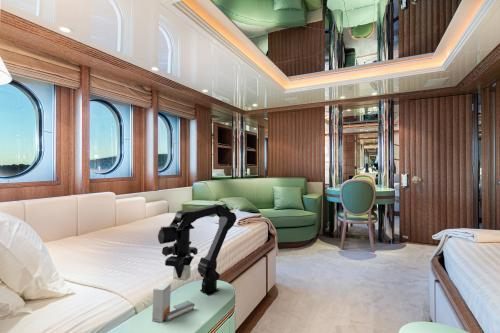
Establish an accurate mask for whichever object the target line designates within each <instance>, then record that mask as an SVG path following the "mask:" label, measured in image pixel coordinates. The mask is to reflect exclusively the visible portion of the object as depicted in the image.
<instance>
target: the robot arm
mask: <svg viewBox="0 0 500 333" xmlns="http://www.w3.org/2000/svg"><path fill="white" fill-rule="evenodd" d="M213 215H216V216H217V217H218V228H217V231H216V233H215V236H214V237H213V240H212V242H211V245H210V247H209V249H208V252H207V254H206V255H205V256H204V257H200V259H199V262H198V264H197V272H198V274H199V275H200V277H201V278H202V281H201V289H200V290H199V292H201V293H203V294H204V295H207V296H210V295H213V294H215V293H217V292H219V291H220V290H219V289H218V286H217V285H218V283H217V282H218V280H220V276H221V274H220V273H219V272H218V271H216V270H217V264H218V263H217V260H218V256H219V253H220V252H221V249H222V246H223V244H224V242H225V239H226V236H227V235H228V231H229V230H230V229H232V228H233V227H234V225H235V223H236V222H237V215H236V213H234V212H232V211H230V210H229V209H227V208H226V207H224V206H223V205H222V204H219V203H218V204H217V203H214V204H212V205H209V206H204V207H200V208H197V209H192V210H191V209H189V210H188V209H184V210H178V211H176V213H175V215H174V218H173V219H172V220H171V222H170V224H169V225H168V226H160V230H159V231H158V234H157V240H158V242H159V244H161V245H163V244H169V243H173V244H172V245H170V246H168V245H167V246H164V247H162V250H161V251H162V252H161V254H162V256H164V257H167V258H166V259H165V260H164V265H165V266H166V267H173V268H174V267H175V270H176V273H177V276H178V278H181V275H182V272H183V269H184V266H185V265H189V266H191V264H192V261H193V259H194V257H195V256H196V255H198V254H199V253H198V252H199V251H198V248H197V247H194V246H191V244H192V241H191V240H190V238H191V236H190V235H191V234H190V232H191V230H194V229H195V226H193V225H192V223H194V222H196V221H197V220H199V219H202V218H205V217H208V216H213ZM169 255H170V256H169ZM168 256H169V257H168Z"/></svg>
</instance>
